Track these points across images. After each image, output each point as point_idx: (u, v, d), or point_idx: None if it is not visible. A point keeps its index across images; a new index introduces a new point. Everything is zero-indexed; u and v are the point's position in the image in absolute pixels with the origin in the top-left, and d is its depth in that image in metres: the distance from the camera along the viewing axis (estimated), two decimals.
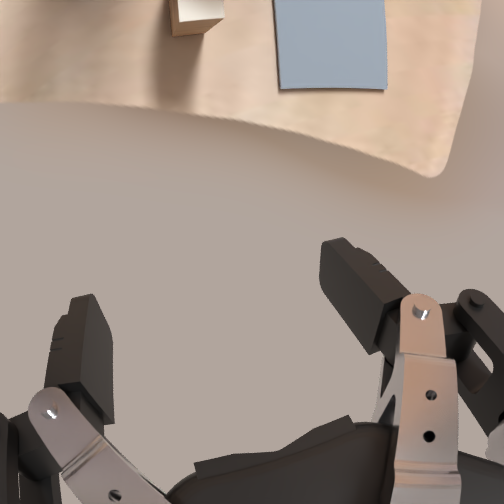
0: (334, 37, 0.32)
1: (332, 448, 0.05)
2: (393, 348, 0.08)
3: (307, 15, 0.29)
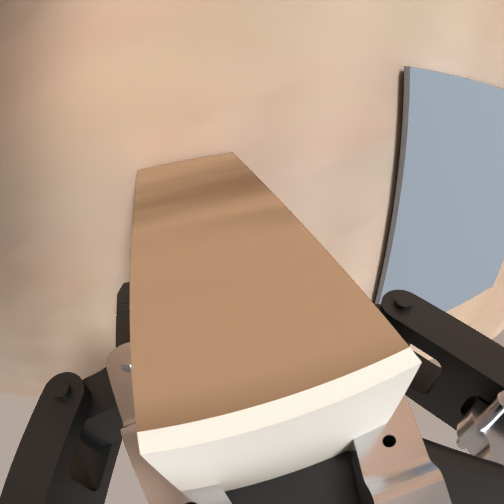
0: (464, 245, 0.19)
1: None
2: None
3: (441, 218, 0.17)
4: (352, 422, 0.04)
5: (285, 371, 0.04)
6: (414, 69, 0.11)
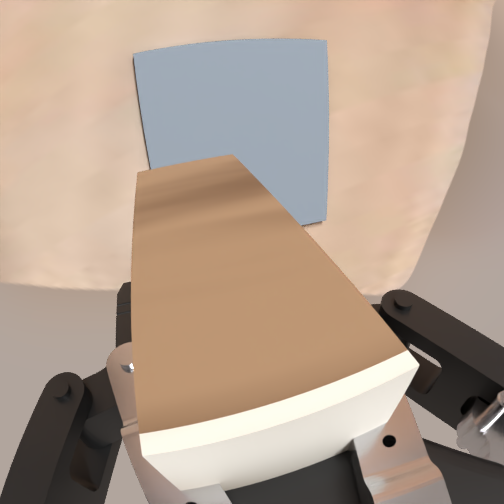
0: None
1: None
2: None
3: (195, 145, 0.25)
4: (351, 424, 0.04)
5: (285, 374, 0.04)
6: (137, 54, 0.19)
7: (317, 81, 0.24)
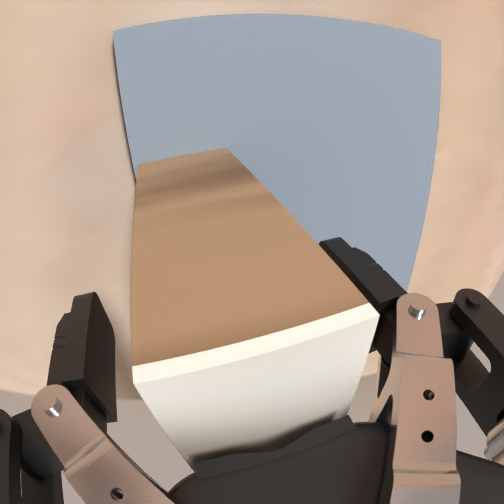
0: None
1: (332, 448, 0.05)
2: (390, 348, 0.08)
3: None
4: (321, 372, 0.05)
5: (259, 318, 0.05)
6: (120, 31, 0.09)
7: (428, 103, 0.14)
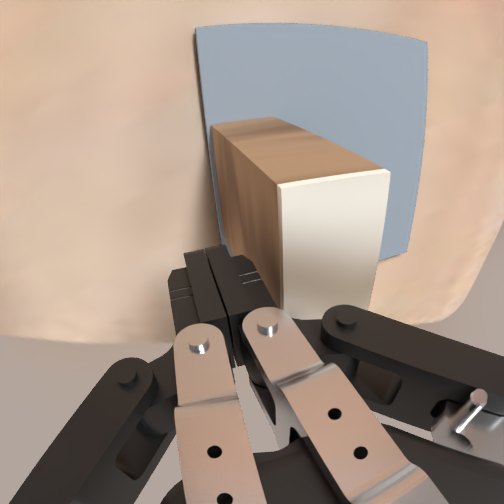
0: None
1: None
2: (257, 372, 0.08)
3: None
4: (365, 204, 0.09)
5: (333, 170, 0.09)
6: (201, 28, 0.13)
7: (417, 90, 0.18)
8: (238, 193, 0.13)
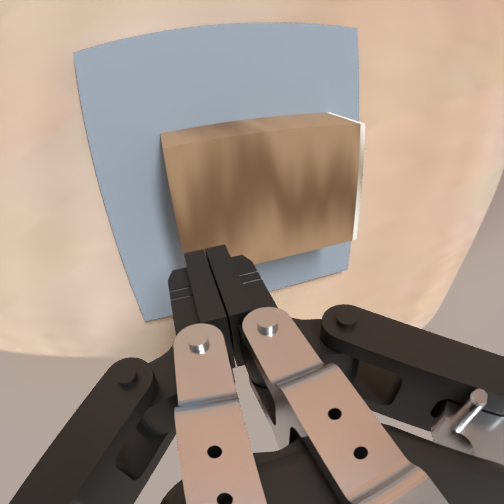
0: None
1: None
2: (257, 372, 0.08)
3: None
4: None
5: (335, 117, 0.16)
6: (78, 52, 0.12)
7: (345, 85, 0.17)
8: (278, 173, 0.15)
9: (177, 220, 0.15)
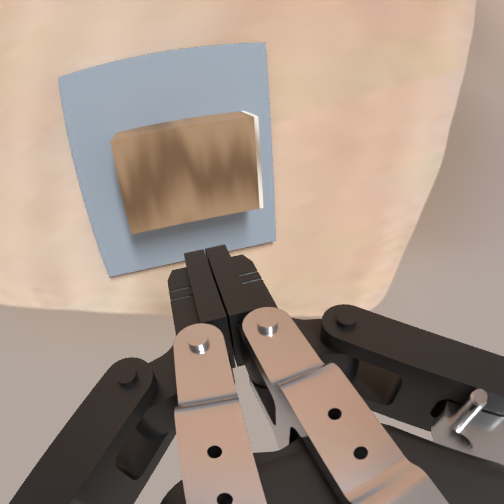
0: None
1: None
2: (257, 372, 0.08)
3: None
4: None
5: (241, 114, 0.22)
6: (61, 77, 0.18)
7: (255, 88, 0.23)
8: (189, 155, 0.21)
9: (121, 189, 0.20)
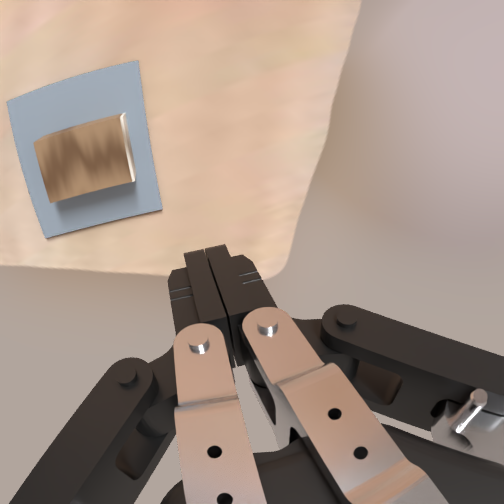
0: None
1: None
2: (257, 372, 0.08)
3: None
4: (126, 121, 0.30)
5: (118, 115, 0.29)
6: (8, 101, 0.24)
7: (132, 95, 0.29)
8: (80, 148, 0.27)
9: (41, 173, 0.27)
